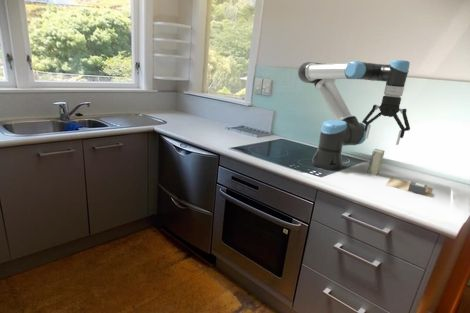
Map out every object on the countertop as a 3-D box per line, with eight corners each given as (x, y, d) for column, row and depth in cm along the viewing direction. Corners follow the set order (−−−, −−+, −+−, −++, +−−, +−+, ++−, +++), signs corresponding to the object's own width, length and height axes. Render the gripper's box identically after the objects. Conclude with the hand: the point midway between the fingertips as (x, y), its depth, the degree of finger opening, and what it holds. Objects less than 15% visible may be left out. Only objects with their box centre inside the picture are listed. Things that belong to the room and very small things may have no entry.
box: (369, 172, 146) (375, 148, 142) (378, 175, 143) (385, 150, 139) (366, 175, 142) (372, 150, 138) (375, 177, 139) (382, 152, 135)
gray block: (407, 190, 123) (409, 183, 122) (409, 187, 127) (411, 180, 126) (424, 195, 120) (426, 188, 119) (425, 191, 124) (427, 184, 123)
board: (385, 187, 128) (385, 184, 128) (390, 179, 139) (391, 177, 138) (429, 200, 119) (430, 197, 118) (432, 190, 129) (432, 188, 129)
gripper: (361, 92, 135) (352, 136, 141) (423, 100, 121) (410, 148, 127) (365, 92, 141) (356, 134, 147) (425, 99, 127) (412, 145, 133)
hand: (381, 141), depth 137 cm, fingers open, 13 cm apart
